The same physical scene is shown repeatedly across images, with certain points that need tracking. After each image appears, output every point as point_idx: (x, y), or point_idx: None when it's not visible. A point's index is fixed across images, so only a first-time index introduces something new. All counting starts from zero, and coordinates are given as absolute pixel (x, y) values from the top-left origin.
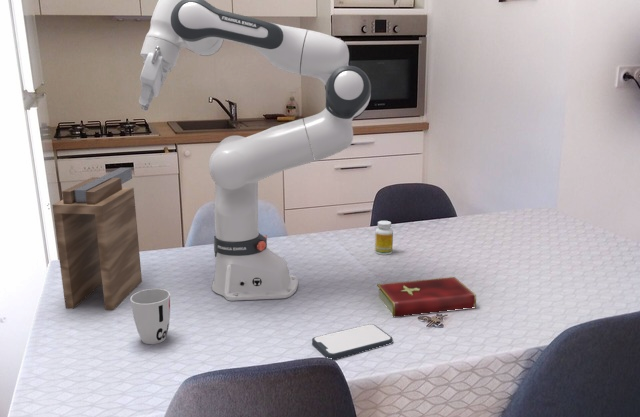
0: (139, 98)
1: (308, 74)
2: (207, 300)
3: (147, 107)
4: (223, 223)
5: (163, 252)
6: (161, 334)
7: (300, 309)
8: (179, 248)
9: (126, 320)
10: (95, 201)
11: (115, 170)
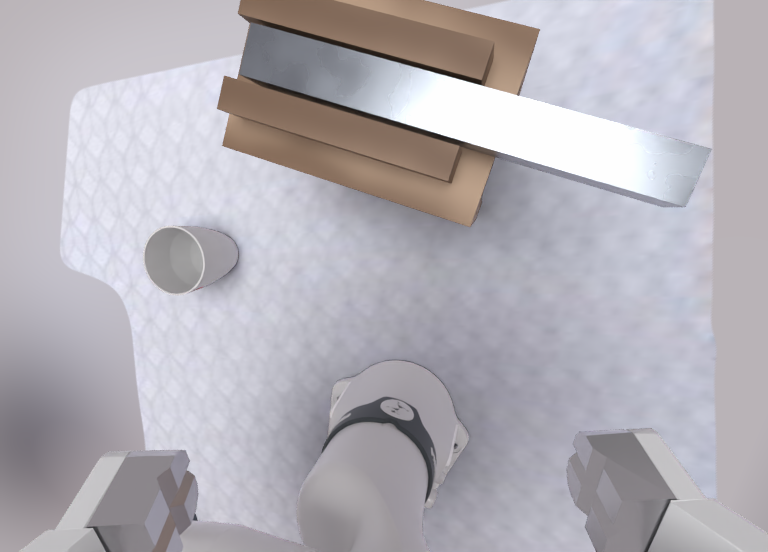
0: (79, 493)
1: None
2: (347, 345)
3: (589, 508)
4: (318, 460)
5: (684, 263)
6: (196, 267)
7: (281, 485)
8: (708, 306)
9: (292, 203)
10: (241, 117)
11: (633, 131)
